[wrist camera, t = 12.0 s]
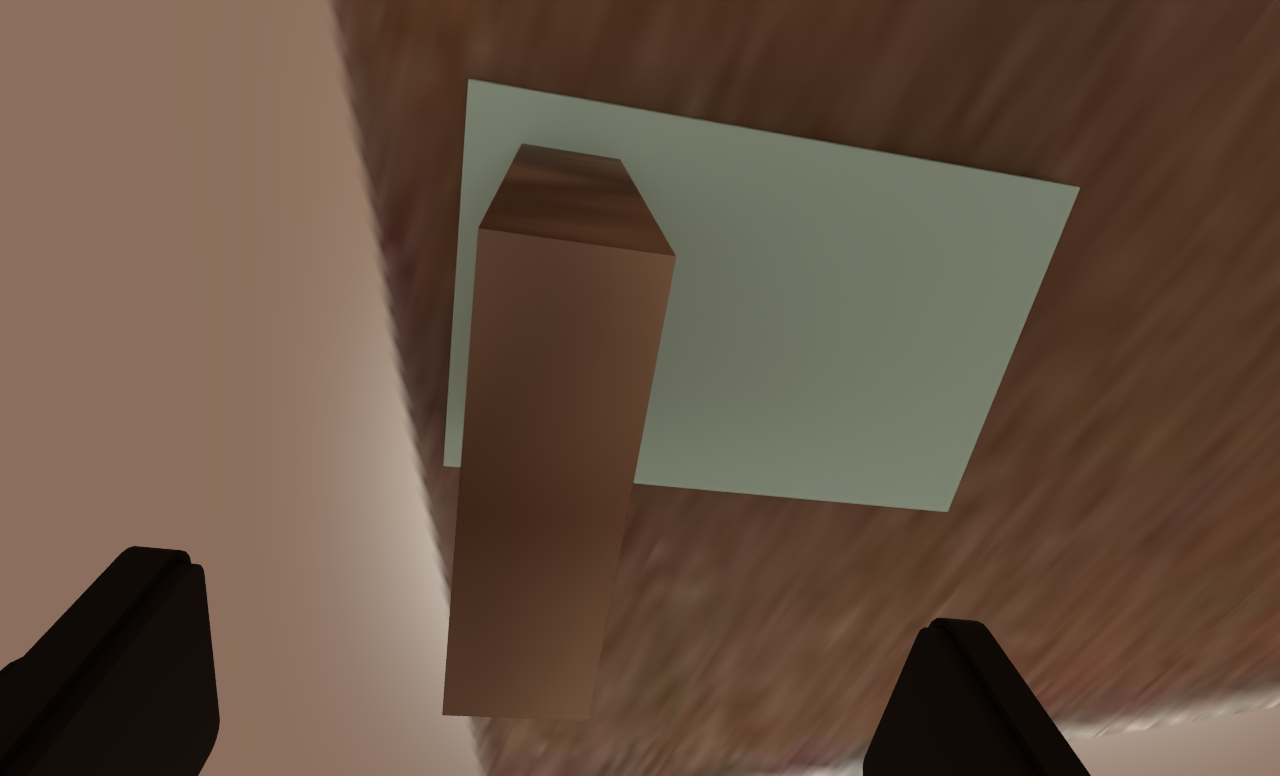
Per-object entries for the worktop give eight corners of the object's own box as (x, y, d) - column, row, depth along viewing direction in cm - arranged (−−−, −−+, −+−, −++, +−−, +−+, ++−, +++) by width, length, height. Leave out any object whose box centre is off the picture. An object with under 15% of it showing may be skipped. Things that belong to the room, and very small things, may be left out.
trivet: (1061, 182, 24) (1080, 187, 24) (935, 498, 30) (947, 512, 29) (472, 78, 21) (468, 79, 20) (447, 451, 26) (443, 465, 26)
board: (620, 159, 22) (676, 256, 11) (578, 442, 26) (588, 720, 15) (522, 143, 21) (478, 227, 10) (494, 434, 25) (442, 714, 14)
